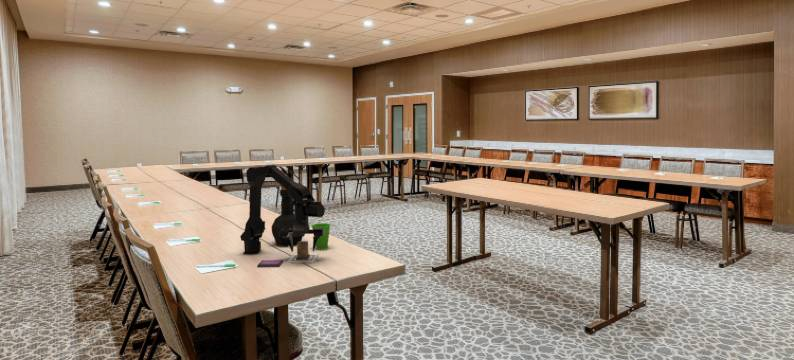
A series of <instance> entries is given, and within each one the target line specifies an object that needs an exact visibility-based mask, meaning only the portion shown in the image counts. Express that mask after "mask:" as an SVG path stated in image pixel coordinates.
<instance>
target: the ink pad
mask: <svg viewBox="0 0 794 360" xmlns="http://www.w3.org/2000/svg"><path fill="white" fill-rule="evenodd" d="M282 264H284V259H262V260H261V261H260V262H258V264H257V268H280V267H281V266H282Z"/></svg>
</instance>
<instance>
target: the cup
mask: <svg viewBox="0 0 794 360" xmlns="http://www.w3.org/2000/svg"><path fill="white" fill-rule="evenodd" d="M310 226H311V229H315V227H324V229H325V234H324V235H323V236H321V237H320V238H318V240H317V243H316V247H315V249H317V250H326V249H327V248H328V244H329V236H330V228H331V223H327V222H320V223H314V224H311V225H310Z"/></svg>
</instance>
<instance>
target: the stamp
mask: <svg viewBox="0 0 794 360" xmlns="http://www.w3.org/2000/svg"><path fill="white" fill-rule="evenodd" d="M296 249H297V250H296V255H297V257H296V260H308V259H309V257H310V255H311V254H310V253H309V241H308V240H305V241H304V240H303V241H299V242H298V243H297V245H296Z"/></svg>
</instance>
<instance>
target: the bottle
mask: <svg viewBox="0 0 794 360" xmlns="http://www.w3.org/2000/svg"><path fill="white" fill-rule="evenodd" d="M279 196H280V197H281V199H280V200H281V201H280V210H281V211H280V212H281V214H280V215H279V216H276V218H274V220H273V223H272V225H271V234H272V237H273V239H274V241H275V242H274V243H275V245H276V246H279V247H280V246H281V247H290V246H289V244H288V242H287V240H286V239H284V238H282V237H279V231H280V230H281V229H282V228H291V230H292V229H293V226H294V223H295V222H294V221H295V211H294V206H292V205H290V203H292V202H293V199H292V198H291V197H290V195H289V194H288V191H287V190H286V189H285V188H284V187H283V186H282V185H280V190H279ZM292 239H293V247H294V246H297V243H298V242H299V241H302V240H303V237H301V236H296V237H294V236H293V234H292Z"/></svg>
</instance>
